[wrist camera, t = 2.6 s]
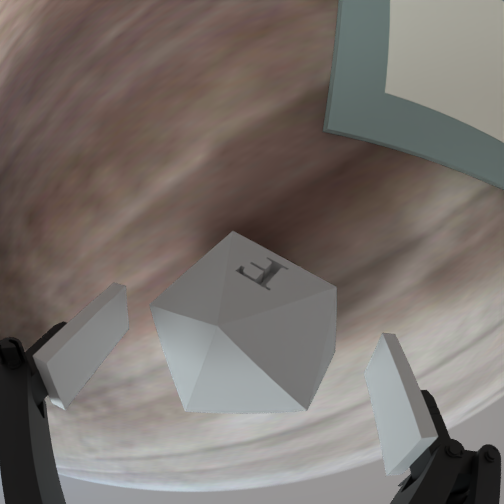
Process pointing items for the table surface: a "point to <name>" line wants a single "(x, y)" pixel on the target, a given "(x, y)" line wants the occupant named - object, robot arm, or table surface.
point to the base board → (422, 80)
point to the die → (246, 331)
